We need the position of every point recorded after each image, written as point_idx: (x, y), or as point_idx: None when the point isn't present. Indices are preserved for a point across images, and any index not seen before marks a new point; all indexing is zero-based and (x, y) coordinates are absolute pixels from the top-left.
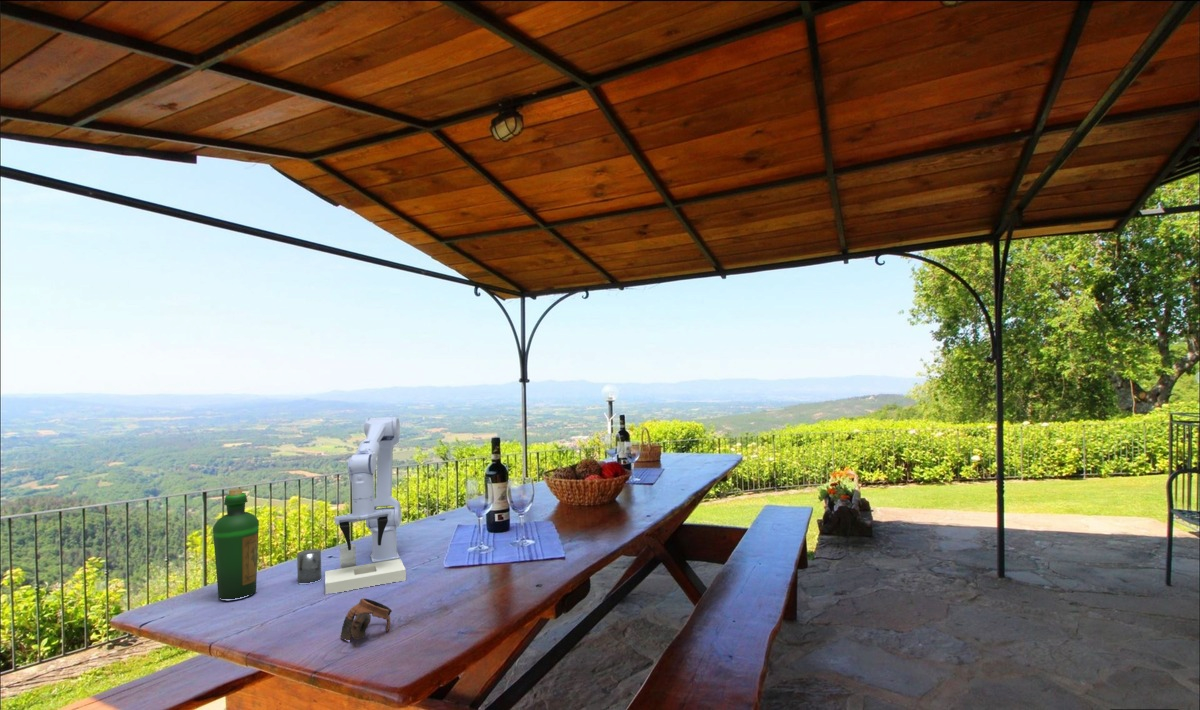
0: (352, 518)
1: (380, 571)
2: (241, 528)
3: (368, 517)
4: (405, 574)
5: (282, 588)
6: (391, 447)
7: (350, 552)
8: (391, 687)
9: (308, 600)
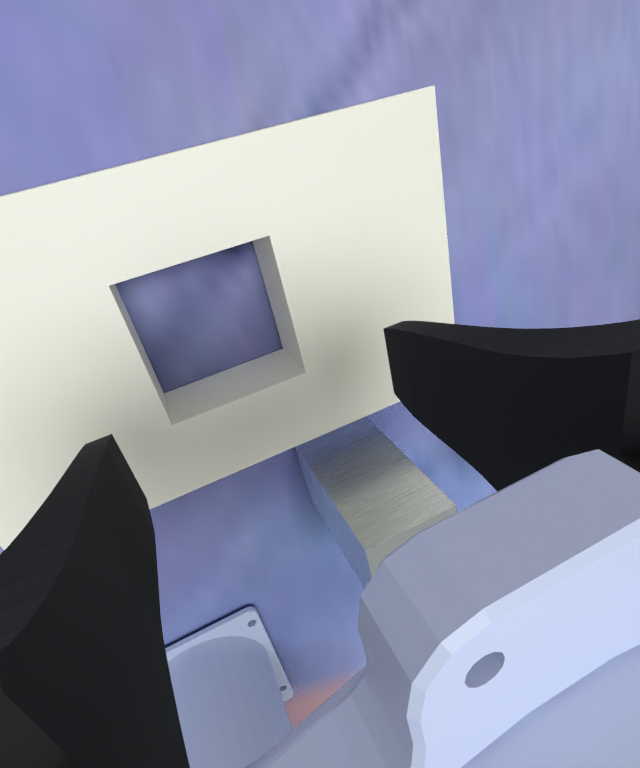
0: None
1: (69, 271)
2: None
3: (360, 614)
4: None
5: (577, 310)
6: None
7: (378, 512)
8: None
9: (469, 34)
